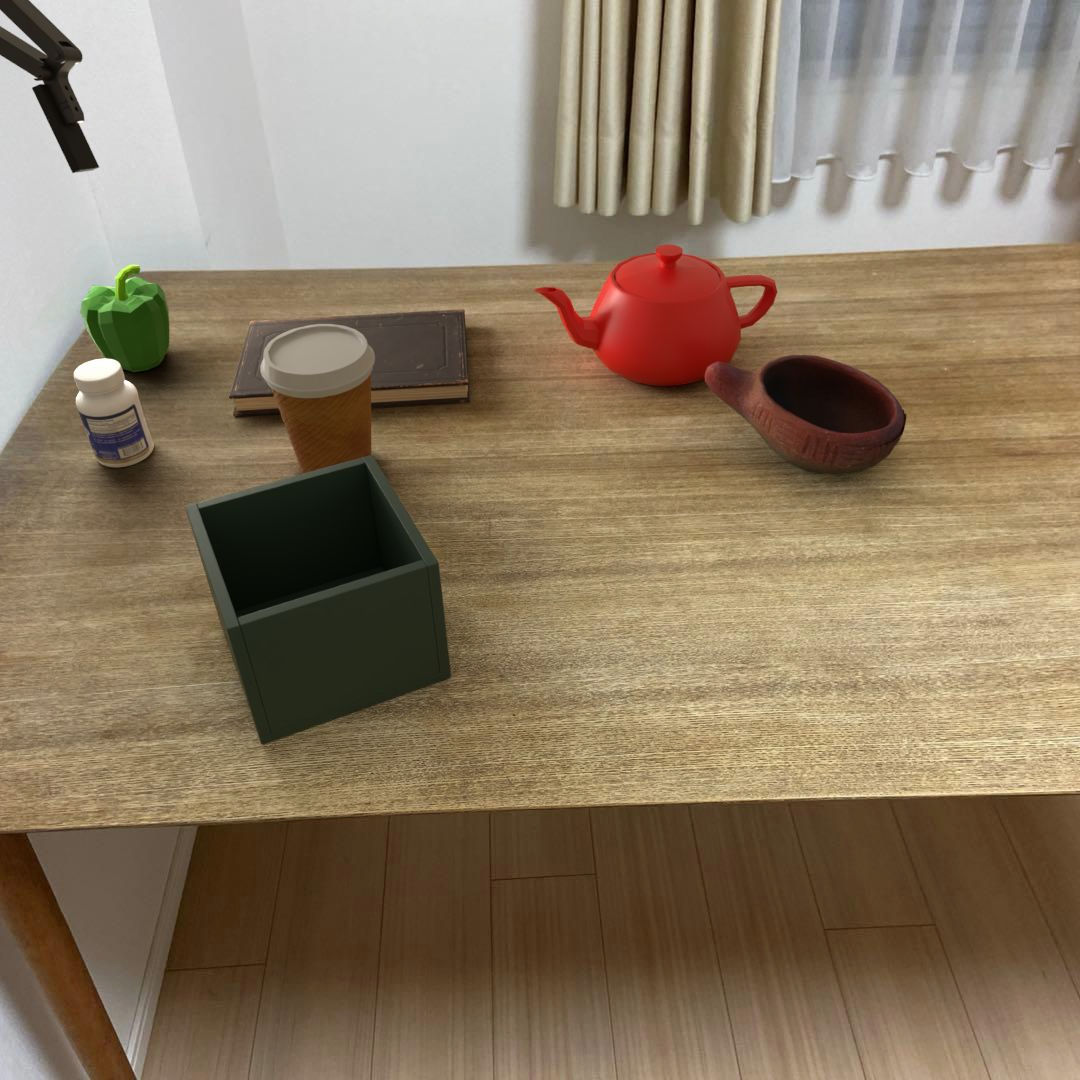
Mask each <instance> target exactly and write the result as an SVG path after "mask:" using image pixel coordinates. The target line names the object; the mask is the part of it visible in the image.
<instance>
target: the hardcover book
mask: <svg viewBox="0 0 1080 1080" xmlns="http://www.w3.org/2000/svg"><path fill="white" fill-rule="evenodd" d="M465 312H466V311H465V309H463V308H461V309H443V310H442V309H441V310H425V311H424V310H423V311H422V310H421V311H408V312H407V311H405V312H385V313H370V314H369V313H368V314H352V315H351V314H349V315H348V314H347V315H334V316H333V315H332V316H314V317H297V318H296V317H295V318H278V319H277V318H276V319H259V320H250V322H249V326H248V329H247V332H246V336H245V338H244V344H243V347H242V350H241V353H240V355H239V361H238V363H237V367H236V371H235V374H234V377H233V381H232V385H231V388H230V391H229V395H228V399H229V400H233V402H234V408H233V412H232V416H233V417H239V416H241V417H242V416H255V415H256V416H257V415H272V414H274V415H275V414H281V413H280V410H279V408H278V405H277V403H276V399H275V397H274V394H273V392H272V389H271V387H270V386H269V385H268V383H267V382H266V381H265V379H264V378H263V377H262V374H261V363H262V360H263V355H264V349H265V348H266V346H267V345H268V343H269V342H270V341H271V340H273V339H274V338H275V337H277V336H279V335H280V334H282V333H284V332H287V331H289V330H292V329H295V328H299V327H304V326H308V325H316V324H335V325H342V326H346V327H350V328H353V329H355V330H357V331H358V332H360V333H361V334H363V336H364V337H365V338H366V340H367V342H368V345H369V346H370V347H371V348H372V349H373V351H374V354H375V363H374V365H373V369H372V372H371V409H375V408H377V409H378V408H392V407H409V406H424V405H441V404H458V403H459V404H460V403H470V402H471V395H470V380H469V379H470V378H469V377H470V376H469V359H468V345H467V344H468V343H467V326H466V313H465Z"/></svg>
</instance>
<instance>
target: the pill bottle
mask: <svg viewBox="0 0 1080 1080" xmlns="http://www.w3.org/2000/svg"><path fill="white" fill-rule="evenodd" d="M123 370H124V369H123V368H122V367H121V365H120V363H119V362H118V361H116V360H113V359H105V358H97V359H92V360H89V361H86V362H83V363H82V364H80V365H79V366H77V367H76V368H75V369H74V371H73V379H74V382H75V385H76V387H77V390H78V391H79V392H78V393H77V395H76V397H75V406H76V409H77V412H78V415H79V417H80V420H81V423H82V425H83V428H84V430H85V433H86V436H87V439H88V441H89V444H90V446H91V449H92V452H93V455H94V457H95V459H96V461H97V462H98V463H99V464H100V465H102V466H105V467H108V468H125V467H126V468H127V467H130V466H133V465H136V464H138V463H140V462H142V461H144V460H145V459H146V458H148V457H149V456H150V455H151V454H152V452H153V450H154V447H155V443H154V439H153V435H152V432H151V429H150V426H149V423H148V420H147V417H146V414H145V410H144V407H143V405H142V402H141V398H140V395H139V392H138V390H137V387H136V386H135V385H134V384H133V383H132V382H130V381H128V380H126V377H125V373H124V371H123Z"/></svg>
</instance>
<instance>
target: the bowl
mask: <svg viewBox="0 0 1080 1080" xmlns="http://www.w3.org/2000/svg"><path fill="white" fill-rule="evenodd" d="M704 382H705V383H706V385H707V386H708V388H709V389H710V391H711V392H712V393H713V394H714V395H715V396H717V398H719V399H720V400H721V401H722V402H723V403H725V404H726V405H727V406H728V407H730V408H731V409H732V410H733V411H735V412H736V413H737V414H739V416H741V418H743V419H744V420H745V421H746V422H748V424H749V426H751V427H752V428H753V429H754V430H755V431H756V432H757V434H758V436H760V438H761V439H762V440H763V441H764V442H765V444H766V445H767V446H768V447H769V448H770V449H771V450H772V451H773V452H774V453H775V454H776V455H777V456H778V457H780V458H781V459H782V460H784V461H785V462H787V463H789V464H790V465H792V466H794V467H795V468H798V469H799V470H803V471H806V472H808V473H812V474H813V473H814V474H821V475H831V476H836V475H846V474H847V475H848V474H855V473H860V472H863V471H867V470H869V469H871V468H873V467H875V466H877V465H879V464H880V463H881V462H883V461H884V460H885V459H886V458H888V457H889V455H890V454H891V453H892V452H893V451H894V449H895V447H896V446H897V445H898V444H899V442H900V441H901V438H902V436H903V434H904V431H905V427H906V422H907V414H906V412H905V410H904V408H902V406H901V403H900V401H899V400H898V398H896V396H895V395H894V394H893V393H892V392H891V390H889V388H888V387H887V386H885V385H884V384H883V383H882V382H880V381H879V380H878V379H877V378H874V377H873V376H871V375H869V374H867V373H866V372H863V371H862V370H859V369H857V368H856V367H853V366H851V365H848V364H846V363H842V362H840V361H837V360H834V359H831V358H827V357H824V356H823V357H822V356H818V355H811V354H809V355H807V354H787V355H782V356H779V357H776V358H774V359H772V360H770V361H768V362H766V363H764V364H763V365H762V366H760V367H759V368H758V369H753V370H750V371H749V370H743V369H740V368H738V367H735V366H733V365H732V364H730V363H728V364H726V363H723V362H719V361H718V362H716V363H713V364H710V366H709V367H707V370H706V373H705V379H704Z"/></svg>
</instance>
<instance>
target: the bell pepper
mask: <svg viewBox="0 0 1080 1080" xmlns="http://www.w3.org/2000/svg"><path fill="white" fill-rule="evenodd" d="M140 272H141V266H140V265H139V264H129V265H127V266H124V268H122V269H120V270H119V272H118V274H117V275H116V276H115V281H114V282H115V283H114V286H108V285H92V287H91V288H90V290H89V291H88V293H87V294H86V296H85V298H84V299H82V301H81V305H80V311H79V313H80V315H81V318H82V321H83V323H84V326H85V329H86V331H87V333H88V334H89V336H90V339H92V341H93V343H94V344H95V346H96V348H97V349H98V351H99V353H101V355H102V356H103V359H113V360H116V361H118V362H119V363H120V365H121V368H122V370H126V371H128V372H132V373H139V372H145V371H149V370H150V369H154V368H157V367H158V366H160V365H161V363H162V362H163V360H164V359H165V355H166V354H167V353H168V350H169V348H170V331H171V330H170V312H169V311H170V309H169V306H168V301H167V297H166V294H165V291H164V290H163V288H162V287H161V286H160V285H159V283H158V282H148V281H147V280H145V279H143V278H141V277H139V276H137V275H139V274H140ZM133 275H136V276H134V277H131V276H133ZM129 277H130V278H129Z"/></svg>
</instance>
